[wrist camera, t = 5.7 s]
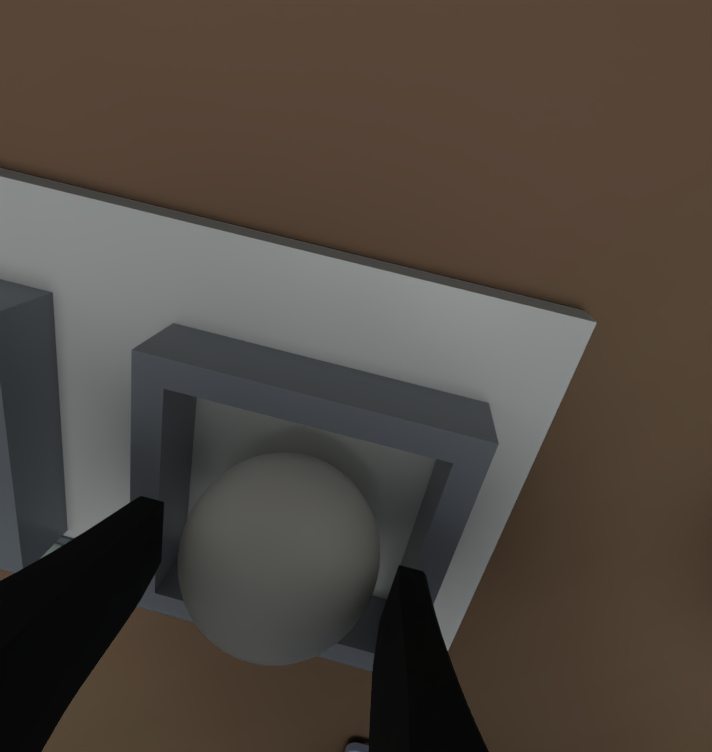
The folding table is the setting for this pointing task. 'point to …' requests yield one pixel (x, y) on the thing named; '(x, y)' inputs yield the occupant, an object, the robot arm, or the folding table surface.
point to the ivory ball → (278, 559)
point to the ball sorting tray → (260, 385)
